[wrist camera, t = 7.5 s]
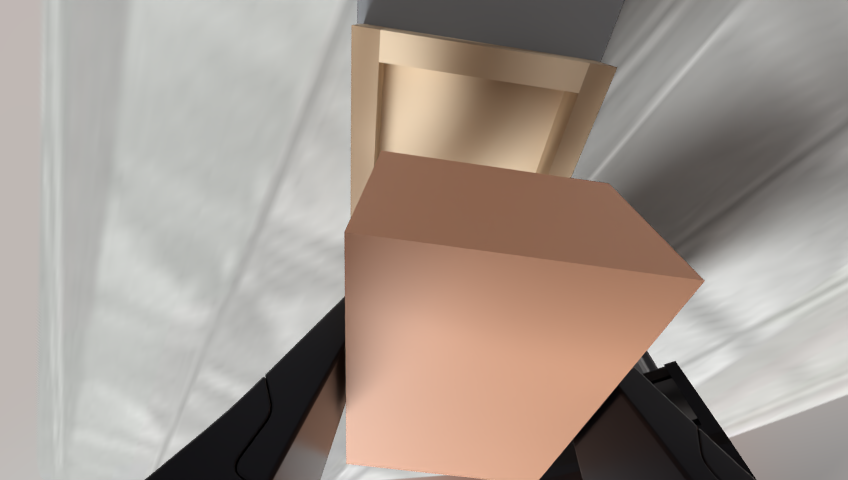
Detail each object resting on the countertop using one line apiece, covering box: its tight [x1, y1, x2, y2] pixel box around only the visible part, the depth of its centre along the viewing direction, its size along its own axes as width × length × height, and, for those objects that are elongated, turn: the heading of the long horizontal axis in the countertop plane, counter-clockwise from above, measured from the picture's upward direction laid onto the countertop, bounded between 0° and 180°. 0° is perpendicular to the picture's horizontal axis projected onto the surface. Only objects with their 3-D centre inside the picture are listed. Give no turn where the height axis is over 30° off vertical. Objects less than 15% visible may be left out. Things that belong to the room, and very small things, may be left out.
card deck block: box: [345, 151, 704, 480], centre depth 9 cm, size 8×6×4 cm
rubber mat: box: [357, 0, 624, 62], centre depth 13 cm, size 10×25×1 cm, turn 172°
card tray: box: [351, 24, 617, 217], centre depth 16 cm, size 10×12×2 cm
